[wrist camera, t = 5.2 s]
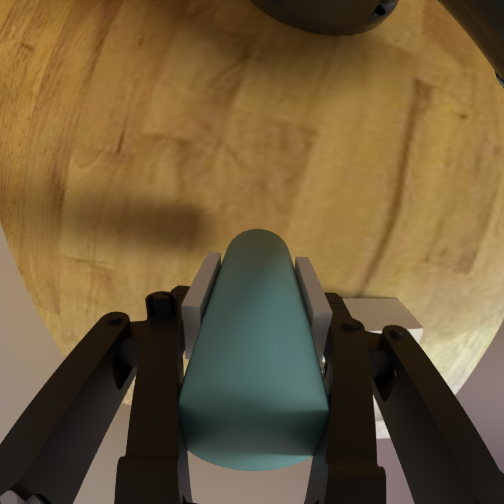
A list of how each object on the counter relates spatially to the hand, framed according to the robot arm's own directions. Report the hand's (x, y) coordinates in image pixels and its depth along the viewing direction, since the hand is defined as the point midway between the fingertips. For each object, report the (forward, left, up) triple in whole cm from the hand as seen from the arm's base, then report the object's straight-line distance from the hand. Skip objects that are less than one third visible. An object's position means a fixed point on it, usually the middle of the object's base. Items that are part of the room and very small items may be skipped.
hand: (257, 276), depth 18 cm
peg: (0, 0, -3) cm, 3 cm away
